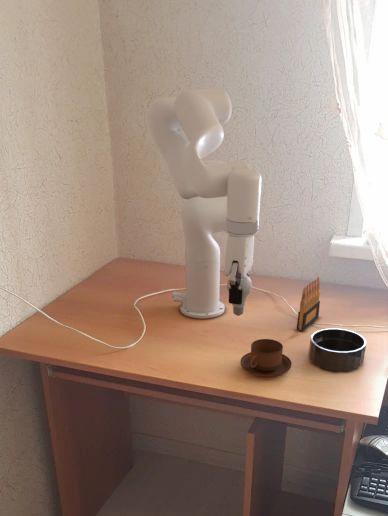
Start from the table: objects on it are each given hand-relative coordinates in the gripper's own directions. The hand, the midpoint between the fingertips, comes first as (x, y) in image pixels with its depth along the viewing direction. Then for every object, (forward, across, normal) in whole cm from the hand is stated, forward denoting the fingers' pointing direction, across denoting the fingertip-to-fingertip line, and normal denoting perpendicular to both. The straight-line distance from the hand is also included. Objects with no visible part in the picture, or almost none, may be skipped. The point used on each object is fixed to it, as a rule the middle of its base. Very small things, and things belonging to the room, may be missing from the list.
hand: (238, 297), depth 155 cm
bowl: (+12, +3, +26) cm, 28 cm away
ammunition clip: (+12, -16, +16) cm, 26 cm away
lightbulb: (+5, 0, 0) cm, 5 cm away
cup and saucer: (+12, +12, +10) cm, 20 cm away
